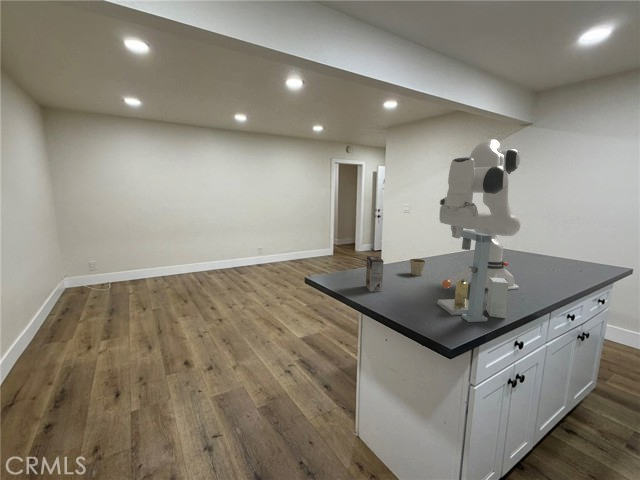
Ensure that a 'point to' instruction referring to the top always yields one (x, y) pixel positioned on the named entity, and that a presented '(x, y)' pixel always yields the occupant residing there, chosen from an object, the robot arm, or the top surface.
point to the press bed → (454, 307)
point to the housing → (461, 293)
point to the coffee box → (374, 273)
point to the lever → (459, 277)
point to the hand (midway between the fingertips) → (456, 237)
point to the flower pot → (417, 266)
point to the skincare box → (497, 297)
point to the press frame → (477, 273)
